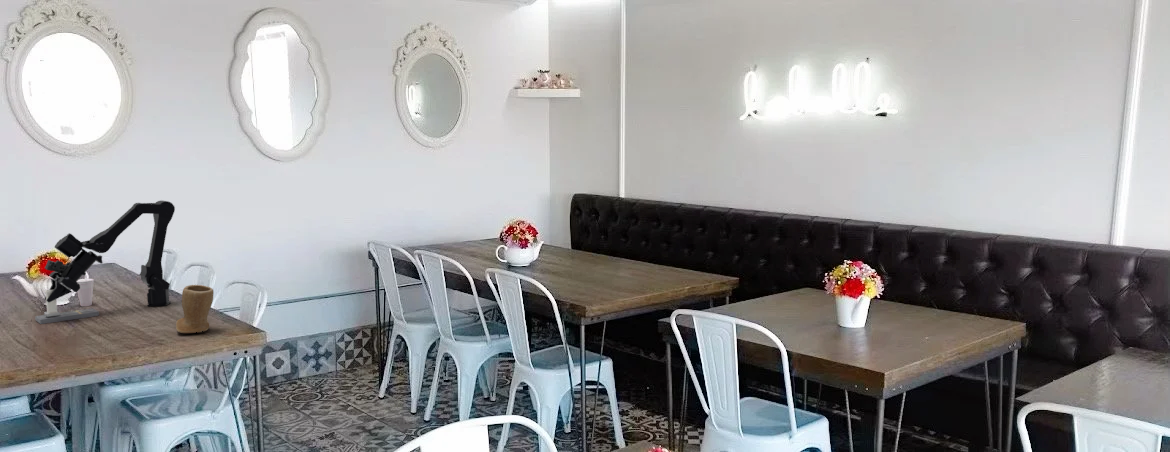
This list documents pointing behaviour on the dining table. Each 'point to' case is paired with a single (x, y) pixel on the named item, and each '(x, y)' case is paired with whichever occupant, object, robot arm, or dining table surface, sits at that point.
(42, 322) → the fader board
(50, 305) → the fader
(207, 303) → the tan boot
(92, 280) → the smoothie
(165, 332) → the dining table surface
